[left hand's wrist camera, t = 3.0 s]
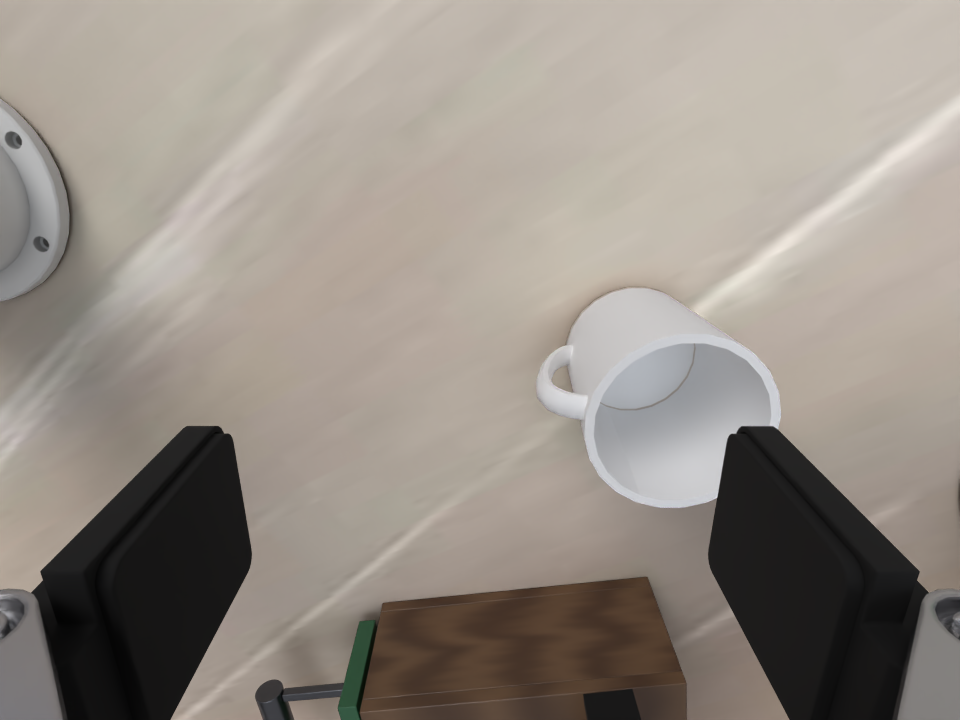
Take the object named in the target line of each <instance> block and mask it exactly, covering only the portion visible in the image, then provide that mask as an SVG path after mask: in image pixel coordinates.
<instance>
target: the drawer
mask: <svg viewBox="0 0 960 720" xmlns="http://www.w3.org/2000/svg"><path fill="white" fill-rule="evenodd" d="M376 633H377V625H376V621H375V620H369V621H360V622H359V625H358V629H357V633H356V637H355V641H354V645H353V649H352V653H351V657H350V661H349V665H348V669H347V673H346V677H345V681H344V683H337V684H326V685H315V686H304V687H294V688H285V689H284V687H283V685H282V683H281V682H280V681H279V680H269V681H267V682H265V683H263V684H262V685H261V686H260V687H259V688H258V690H257V691H256V694H255V699H256V702H257V704H258V707H259V710H260V713H261V715H262V718H263V720H294V717H293V714H292V711H291V708H290V705H289V702H288V701H298V700H309V699H320V698H331V697H340V701H339V705H338V711H339V714H340V718H341V720H362V719H361V716H360V709H361V704H362V699H363V695H364V690H365V685H366V680H367V676H368V671H369V666H370V661H371V657H372V652H373V647H374V642H375V638H376Z"/></svg>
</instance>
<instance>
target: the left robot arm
mask: <svg viewBox="0 0 960 720" xmlns="http://www.w3.org/2000/svg"><path fill="white" fill-rule="evenodd" d="M69 217H70V213H69V206H68V200H67V193H66V190H65V187H64V184H63V181H62V178H61V175H60V172H59V169H58V167H57V165H56V164H55V162H54V160H53V158H52V156H51V154H50V152H49V150H48V148H47V147H46V146H45V144H44V143H43V141H42V140H41V139H40V137H39V136H38V135H37V133H36V132H35V131H34V129H33V128H32V127H31V126H30V125H29V124H28V123H27V122H26V121H25V120H24V119H23V118H22V117H21V116H20V115H19V114H18V113H17V111H16V110H15V109H14V108H12V107H11V106H10V105H8V104H7V103H6V102H4V101H3V100H2V99H0V302H1V301H5V300H9V299H12V298H15V297H17V296H20V295H22V294H25V293H27V292H29V291H31V290H32V289H34V288H35V287H37V286H38V285H40V284H41V283H43V282H44V281H45V280H46V279H47V278H48V277H49V275H50V274H51V273H52V272H53V271H54V270H55V269H56V267H57V265H58V263H59V261H60V259H61V257H62V256H63V254H64V251H65V247H66V243H67V239H68V235H69ZM251 559H252V551H251V544H250V538H249V532H248V526H247V520H246V514H245V508H244V502H243V497H242V491H241V485H240V479H239V473H238V467H237V461H236V455H235V449H234V443H233V439H232V437H231V435H230V434H224V433H223V431H222V429H221V428H220V427H219V426H186V427H185V428H183V429H182V430H181V431H180V432H179V433H178V434H177V435H176V436H175V437H174V438H173V439H172V440H171V441H170V442H169V443H168V444H167V445H166V446H165V447H164V448H163V449H162V450H161V451H160V452H159V453H158V454H157V455H156V456H155V457H154V458H153V459H152V460H151V461H150V462H149V463H148V464H147V465H146V466H145V467H144V468H143V469H142V470H141V471H140V472H139V473H138V474H137V475H136V476H135V477H134V478H133V479H132V480H131V481H130V482H129V483H128V484H127V485H126V486H125V487H124V488H123V489H122V490H121V491H120V492H119V493H118V494H117V495H116V496H115V497H114V498H113V499H112V500H111V501H110V502H109V503H108V504H107V505H106V506H105V507H104V508H103V509H102V510H101V511H100V512H99V513H98V514H97V515H96V516H95V517H94V518H93V519H92V520H91V521H90V522H89V523H88V524H87V525H86V526H85V527H84V528H83V529H82V530H81V531H80V532H79V533H78V534H77V535H76V536H75V537H74V538H73V539H72V540H71V541H70V542H69V543H68V544H67V545H66V546H65V547H64V548H63V549H62V550H61V551H60V552H59V553H58V554H57V555H56V556H55V557H54V558H53V559H52V560H51V561H50V562H49V563H48V564H47V565H46V566H45V567H44V568H43V569H42V570H41V571H40V572H41V575H42V578H43V581H42V582H41V583H40V584H39V585H38V586H37V587H36V588H35V589H34V590H33V591H32V592H31V593H30V592H27V591H25V590H20V589H3V590H0V720H170V719H171V717H172V716H173V714H174V712H175V710H176V708H177V706H178V704H179V702H180V700H181V698H182V697H183V695H184V693H185V691H186V689H187V687H188V685H189V683H190V681H191V679H192V678H193V676H194V674H195V672H196V670H197V668H198V666H199V664H200V662H201V660H202V659H203V657H204V655H205V653H206V651H207V649H208V647H209V645H210V643H211V641H212V640H213V638H214V636H215V634H216V632H217V630H218V628H219V626H220V624H221V622H222V621H223V619H224V617H225V615H226V613H227V611H228V609H229V607H230V605H231V603H232V602H233V600H234V598H235V596H236V594H237V592H238V590H239V588H240V586H241V584H242V583H243V581H244V579H245V577H246V575H247V573H248V571H249V568H250V565H251ZM708 559H709V565H710V568H711V571H712V573H713V575H714V577H715V579H716V581H717V583H718V584H719V586H720V588H721V590H722V592H723V594H724V596H725V598H726V600H727V602H728V603H729V605H730V607H731V609H732V611H733V613H734V615H735V617H736V619H737V621H738V622H739V624H740V626H741V628H742V630H743V632H744V634H745V636H746V638H747V640H748V641H749V643H750V645H751V647H752V649H753V651H754V653H755V655H756V657H757V659H758V660H759V662H760V664H761V666H762V668H763V670H764V672H765V674H766V676H767V678H768V679H769V681H770V683H771V685H772V687H773V689H774V691H775V693H776V695H777V697H778V698H779V700H780V702H781V704H782V706H783V708H784V710H785V712H786V714H787V716H788V717H789V719H790V720H960V590H957V589H940V590H935V591H933V592H930V593H929V592H928V591H927V590H926V589H925V588H924V587H923V586H922V585H921V584H920V583H919V582H918V581H917V578H918V575H919V572H920V571H919V570H918V569H917V568H916V567H915V566H914V565H913V564H912V563H911V562H910V561H909V560H908V559H907V558H906V557H905V556H904V555H903V554H902V553H901V552H900V551H899V550H898V549H897V548H896V547H895V546H894V545H893V544H892V543H891V542H890V541H889V540H888V539H887V538H886V537H885V536H884V535H883V534H882V533H881V532H880V531H879V530H878V529H877V528H876V527H875V526H874V525H873V524H872V523H871V522H870V521H869V520H868V519H867V518H866V517H865V516H864V515H863V514H862V513H861V512H860V511H859V510H858V509H857V508H856V507H855V506H854V505H853V504H852V503H851V502H850V501H849V500H848V499H847V498H846V497H845V496H844V495H843V494H842V493H841V492H840V491H839V490H838V489H837V488H836V487H835V486H834V485H833V484H832V483H831V482H830V481H829V480H828V479H827V478H826V477H825V476H824V475H823V474H822V473H821V472H820V471H819V470H818V469H817V468H816V467H815V466H814V465H813V464H812V463H811V462H810V461H809V460H808V459H807V458H806V457H805V456H804V455H803V454H802V453H801V452H800V451H799V450H798V449H797V448H796V447H795V446H794V445H793V444H792V443H791V442H790V441H789V440H788V439H787V438H786V437H785V436H784V435H783V434H782V433H781V432H780V431H779V430H778V429H777V428H775V427H774V426H741V427H740V428H739V429H738V431H737V433H736V434H730V435H729V437H728V439H727V443H726V449H725V455H724V461H723V467H722V473H721V479H720V485H719V491H718V497H717V502H716V508H715V514H714V520H713V526H712V532H711V538H710V544H709V551H708Z"/></svg>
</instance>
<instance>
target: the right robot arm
mask: <svg viewBox="0 0 960 720" xmlns="http://www.w3.org/2000/svg"><path fill="white" fill-rule="evenodd" d="M583 699H584V707H585V712H586V717H587V720H641V717H640V714H639V710H638V707H637V703H636V700H635V696H634V693H633V689H625V690H616V691H606V692H597V693H587V694H583Z"/></svg>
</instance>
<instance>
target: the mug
mask: <svg viewBox="0 0 960 720" xmlns="http://www.w3.org/2000/svg"><path fill="white" fill-rule="evenodd" d="M563 366H567V368H568V373H569V376H570V381H571V385H572V389H573V393H572V392H567V391H565V390H563V389H560V388H558V387H556V386H555V385H554V384H553V383H552V376H553V374H554V373H555V371H556V370H557V369H558V368H561V367H563ZM536 391H537V398H538V400H539V401H540V402H541V403H542V404H543V405H544V406H545V407H546V408H547V409H548V410H549V411H551V412H553V413H556V414H558V415H560V416H564V417H568V418H573V419H580V423H581V427H582V431H583V436H584V440H585V444H586V448H587V453H588V456H589V459H590V461H591V462H592V464H593V466H594V467H595V469H596V471H597V473H598V474H599V476H600V477H601V478H602V479H603V480H604V481H605V482H606V483H607V484H608V485H609V486H610V487H611V488H612V489H613V490H615V491H616V492H617V493H619V494H621V495H623V496H625V497H627V498H629V499H631V500H633V501H634V502H637V503H641V504H645V505H650V506H654V507H658V508H684V507H688V506H693V505H698V504H702V503H707V502H709V501H711V500H714V499H716V498H717V497H718V491H719V485H720V479H721V473H722V467H723V461H724V455H725V449H726V443H727V439H728V437H729V435H730V434H736V433H737V431H738V429H739V428H740V427H741V426H774V427H775V428H777V429H778V427H779V422H780V417H781V409H780V398H779V391H778V389H777V386H776V384H775V382H774V380H773V377H772V375H771V373H770V371H769V369H768V368H767V367H766V366H765V365H764V364H763V363H762V362H761V361H760V359H759V358H758V357H757V356H756V355H755V354H754V353H753V352H752V351H751V350H749V349H748V348H746V347H745V346H743V345H742V344H740V343H739V342H737V341H736V340H734V339H733V338H731V337H730V336H728V335H727V334H726V333H724V332H723V331H721V330H720V329H718V328H717V327H715V326H714V325H712V324H711V323H709V322H708V321H706V320H705V319H703V318H702V317H700V316H699V315H697V314H696V313H695V312H693V311H692V310H690V309H689V308H687V307H686V306H684V305H683V304H681V303H680V302H678V301H677V300H675V299H674V298H672V297H670V296H669V295H667V294H665V293H664V292H662V291H658V290H654V289H651V288H647V287H626V288H622V289H618V290H615V291H611V292H609V293H607V294H605V295H603V296H601V297H599V298H597V299H596V300H594V301H593V302H592V303H591V304H590V305H588V306H587V307H586V308H585V309H584V310H583V311H582V312H581V313H580V315H579V316H578V318H577V319H576V321H575V322H574V324H573V325H572V327H571V329H570V332H569V335H568V338H567V341H566V346H563V347H559V348H558V349H557V350H555V351H554V352H553V353H551V354H550V355H549V356H548V357H547V358H546V360H545V361H544V362H543V364H542V366H541V368H540V370H539V373H538V376H537V379H536Z"/></svg>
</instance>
